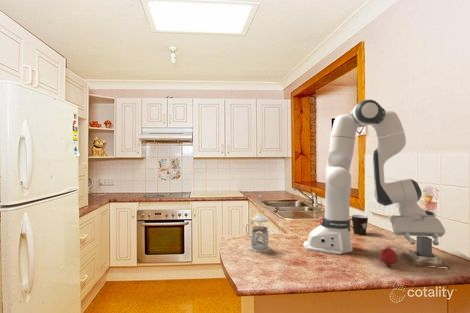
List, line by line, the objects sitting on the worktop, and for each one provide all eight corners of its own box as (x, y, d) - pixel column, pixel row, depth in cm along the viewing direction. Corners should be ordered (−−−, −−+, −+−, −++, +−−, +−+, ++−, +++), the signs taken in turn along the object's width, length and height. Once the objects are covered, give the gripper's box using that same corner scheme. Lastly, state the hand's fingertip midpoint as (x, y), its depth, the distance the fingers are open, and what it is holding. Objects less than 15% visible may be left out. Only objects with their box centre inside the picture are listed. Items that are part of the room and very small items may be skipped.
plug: (421, 260, 117) (421, 238, 117) (416, 257, 121) (416, 236, 121) (431, 261, 117) (431, 239, 117) (426, 257, 121) (426, 236, 121)
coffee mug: (364, 232, 166) (364, 215, 166) (370, 236, 158) (370, 218, 158) (344, 231, 167) (344, 214, 168) (348, 235, 159) (348, 217, 159)
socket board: (412, 265, 114) (412, 258, 114) (401, 254, 127) (401, 248, 127) (449, 269, 111) (449, 261, 111) (435, 257, 124) (435, 251, 124)
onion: (388, 269, 110) (388, 248, 110) (377, 264, 115) (377, 244, 115) (400, 268, 111) (400, 247, 111) (388, 262, 117) (389, 243, 117)
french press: (269, 252, 127) (270, 197, 128) (244, 250, 130) (244, 196, 130) (271, 246, 137) (271, 194, 137) (247, 244, 139) (248, 193, 140)
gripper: (390, 211, 127) (401, 239, 117) (438, 212, 125) (453, 241, 115) (386, 219, 131) (396, 246, 122) (432, 220, 130) (446, 248, 120)
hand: (424, 244), depth 118 cm, fingers open, 8 cm apart
